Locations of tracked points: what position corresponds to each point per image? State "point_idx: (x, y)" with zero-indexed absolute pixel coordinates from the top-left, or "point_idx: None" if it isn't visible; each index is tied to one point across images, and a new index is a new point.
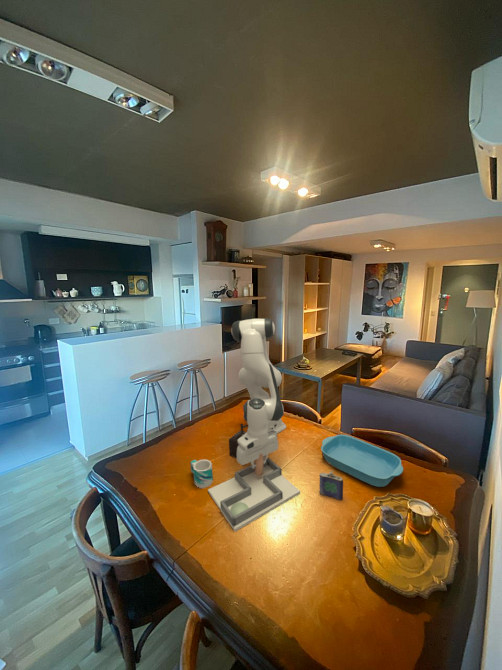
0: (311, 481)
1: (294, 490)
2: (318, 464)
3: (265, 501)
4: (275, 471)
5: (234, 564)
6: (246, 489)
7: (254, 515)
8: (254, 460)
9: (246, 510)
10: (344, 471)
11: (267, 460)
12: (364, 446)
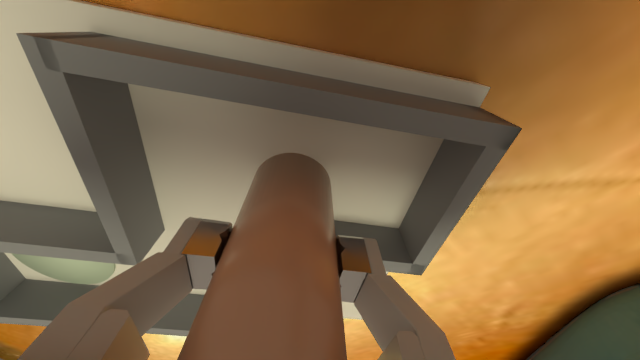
0: (447, 302)
1: (349, 310)
2: (583, 277)
3: (173, 334)
4: None
5: (23, 325)
6: (100, 257)
7: None
8: (201, 302)
9: None
10: (551, 346)
11: (474, 140)
12: None
